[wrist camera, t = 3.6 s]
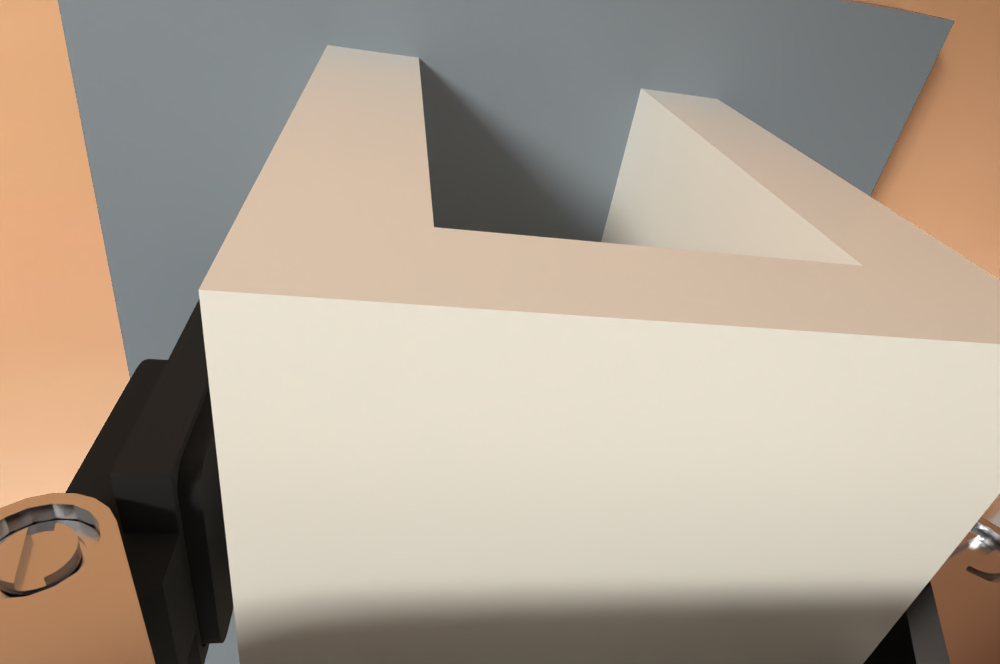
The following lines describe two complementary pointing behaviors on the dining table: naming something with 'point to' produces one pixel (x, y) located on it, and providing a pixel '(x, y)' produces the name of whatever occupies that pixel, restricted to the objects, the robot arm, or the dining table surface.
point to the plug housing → (586, 402)
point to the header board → (453, 111)
